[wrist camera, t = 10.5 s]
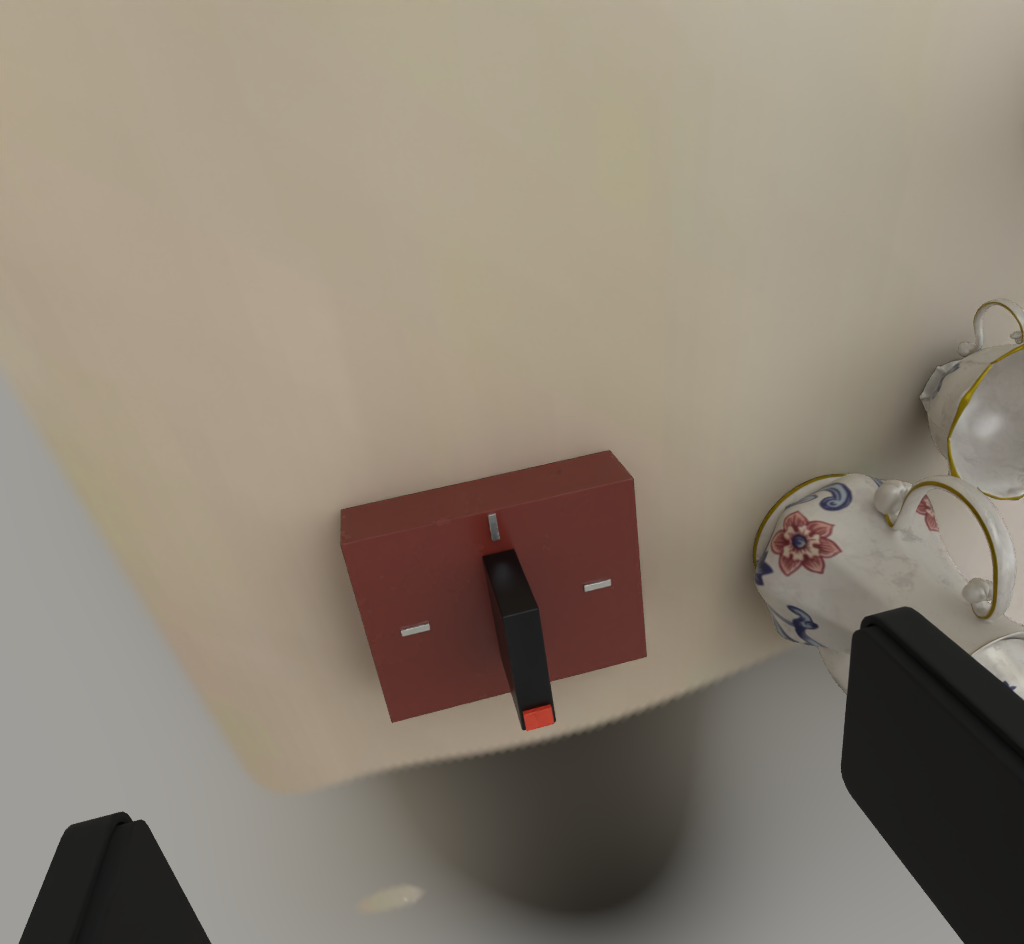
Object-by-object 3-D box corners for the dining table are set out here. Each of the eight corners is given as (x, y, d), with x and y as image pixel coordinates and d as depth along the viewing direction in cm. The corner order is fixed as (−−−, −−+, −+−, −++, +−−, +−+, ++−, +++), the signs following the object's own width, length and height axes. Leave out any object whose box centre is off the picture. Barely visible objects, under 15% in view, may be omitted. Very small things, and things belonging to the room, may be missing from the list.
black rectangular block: (481, 555, 35) (503, 620, 30) (514, 547, 35) (540, 611, 30) (501, 661, 38) (523, 735, 33) (531, 653, 38) (558, 726, 33)
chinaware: (928, 668, 52) (1185, 868, 38) (723, 740, 48) (921, 994, 34) (1001, 272, 40) (1421, 345, 26) (734, 327, 36) (1051, 448, 22)
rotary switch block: (609, 449, 38) (635, 479, 35) (625, 618, 43) (648, 658, 39) (340, 509, 36) (340, 546, 33) (388, 678, 41) (392, 725, 38)
